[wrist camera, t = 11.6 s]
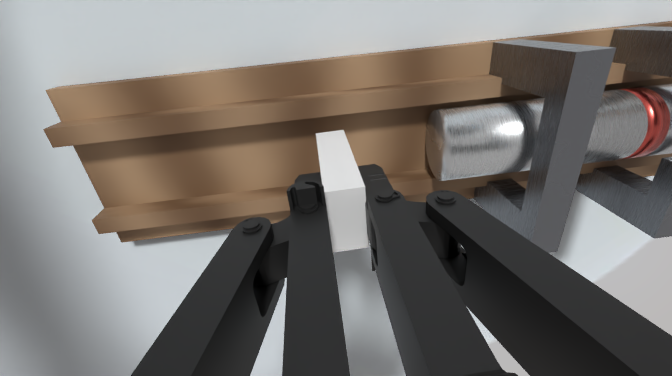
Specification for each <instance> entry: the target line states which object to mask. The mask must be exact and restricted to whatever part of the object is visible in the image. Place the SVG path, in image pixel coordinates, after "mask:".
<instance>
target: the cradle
mask: <svg viewBox="0 0 672 376" xmlns="http://www.w3.org/2000/svg"><path fill="white" fill-rule="evenodd" d="M640 26H652V27H672V21H668V22H658V23H649V24H640V25H630V26H621V27H612V28H602V29H593V30H584V31H574V32H565V33H556V34H546V35H537V36H528V37H518V38H509V39H500V40H490V41H481V42H472V43H462V44H453V45H444V46H434V47H425V48H416V49H406V50H397V51H388V52H379V53H369V54H360V55H351V56H341V57H332V58H323V59H313V60H304V61H295V62H285V63H276V64H267V65H257V66H248V67H239V68H229V69H220V70H211V71H201V72H192V73H183V74H173V75H164V76H155V77H145V78H136V79H127V80H117V81H108V82H99V83H89V84H80V85H71V86H61V87H56V88H52V89H48V90H46V92H47V94H48V96H49V98H50V100H51V102H52V104H53V106H54V108H55V110H56V112H57V114H58V116H59V118H60V120H61V122H60V123H57V124H55V125H52V126H50V127H48V128H45V129H43V130H44V132H45V133H46V135H47V137H48V139H49V141H50V143H51V145H52V147H53V148H54V147H63V146H72V145H73V146H74V148H75V150H76V152H77V154H78V156H79V158H80V160H81V162H82V164H83V166H84V168H85V170H86V172H87V174H88V176H89V178H90V180H91V182H92V184H93V186H94V188H95V190H96V192H97V194H98V196H99V198H100V200H101V202H102V204H103V206H104V209H103V210H102V211H101V212H100V213H99V214H98V215H97V216H96V217H95V218H94V219H93V220H92V222H93V224H94V226H95V228H96V229H97V231H98V233H99V234H103V233H111V232H117V234H118V236H119V238H120V240H121V242H129V241H137V240H145V239H153V238H161V237H169V236H177V235H185V234H193V233H201V232H208V231H216V230H224V229H232V228H234V227H235V226H236V225H237V224H238V223H240V222H242V221H244V220H245V219H249V218H252V217H264V218H267V219H269V220H270V222H271V224H272V223H277V222H279V221H282V220H284V219H286V218H287V217H288V216H290V207H289V202H288V197H287V192H286V191H287V189H288V187H290V186H291V185H292V184H294V183H295V179H296V178H297V177H298V176H299V175H302V174H309V173H316V172H321V171H320V163H319V155H318V148H317V140H316V133H323V132H330V131H338V130H344V132H345V135H346V137H347V140H348V143H349V145H350V148H351V151H352V153H353V156H354V159H355V161H356V164H357V166H362V165H370V164H376V165H378V166H380V167H381V168H382V169H383V171H384V173H385V175H386V176H387V178H388V180H389V182H390V184H391V186H392V188H393V190H396V191H399V192H400V193H401V194H402V195H403V196H404V198H405V200H407V201H413V202H426V197H427V195H428V194H429V193H432V192H434V191H440V190H449V191H453V192H456V193H458V194H461V195H462V196H464V197H465V198H467V199H471V198H474V190H475V187H481V186H487V182H488V181H496V180H504V179H513V180H514V181H516V182H517V183H518V184H520V185H521V186H522V187H524V188H525V189H526V186H527V181H528V177H529V172H530V170H528V171H519V172H511V173H503V174H495V175H486V176H478V177H470V178H461V179H453V180H445V181H439V180H438V179H436V178H435V176H434V175H433V173H432V171H431V169H430V166H429V162H428V158H427V153H426V141H425V137H426V126H427V121H428V118H429V116H430V114H431V112H432V111H434V110H439V109H448V108H457V107H465V106H474V105H483V104H492V103H501V102H510V101H519V100H528V99H537V98H544V97H541V96H538V95H535V94H532V93H528V92H525V91H522V90H519V89H516V88H513V87H510V86H507V85H504V84H501V83H502V78H500V77H497V76H493V75H490V74H489V71H490V63H491V55H492V47H493V42H500V41H509V40H518V39H524V40H535V41H547V42H558V43H569V44H580V45H592V46H603V47H609V46H610V42H611V39H612V35H613V31H614V29H621V28H630V27H640ZM625 66H626V64H621V63H614V62H612V64H611V68H610V71H609V75H608V78H607V82H606V85H605V89H604V91H609V90H618V89H627V88H636V87H645V86H654V85H663V84H672V77H666V76H660V75H654V74H647V73H641V72H634V71H628V70H625ZM665 157H672V153H669V154H661V155H652V156H644V157H636V158H627V159H619V160H611V161H603V162H594V163H586V164H582V168H581V171H580V174H586V173H593V169H594V168H601V167H609V166H617V165H618V166H620V167H622V168H624V169H627V170H629V171H631V172H633V173H635V174H637V175H640V176H642V177H646V176H654V175H655V174H656V171H657V169H658V167H659V164H660V162H661V159H662V158H665Z"/></svg>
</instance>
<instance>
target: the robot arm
mask: <svg viewBox="0 0 672 376" xmlns="http://www.w3.org/2000/svg"><path fill="white" fill-rule="evenodd" d="M316 140H317V148H318V155H319V163H320V171H321V172H316V173H309V174H302V175H299V176H298V177H297V178H296V179H295V183H294V184H292V185H291V186H290V187H288V189H287V191H286V192H287V197H288V202H289V207H290V216H288V217H287V218H286V219H284V220H282V221H279V222H277V223H274V224H271V222H270V220H269V219H267V218H264V217H252V218H249V219H245V220H244V221H242V222H240V223H238V224H237V225H236V226H235V227H234V229H233V230H232V231H231V233H230V234H229V236H228V237H227V239H226V240H225V241H224V243H223V244H222V246H221V247H220V249H219V250H218V251H217V253H216V254H215V256H214V257H213V259H212V260H211V261H210V263H209V264H208V266H207V267H206V269H205V270H204V272H203V273H202V274H201V276H200V277H199V279H198V280H197V282H196V283H195V284H194V286H193V287H192V289H191V290H190V292H189V293H188V294H187V296H186V297H185V299H184V300H183V302H182V303H181V304H180V306H179V307H178V309H177V310H176V312H175V313H174V314H173V316H172V317H171V319H170V320H169V322H168V323H167V325H166V326H165V327H164V329H163V330H162V332H161V333H160V335H159V336H158V337H157V339H156V340H155V342H154V343H153V345H152V346H151V347H150V349H149V350H148V352H147V353H146V355H145V356H144V357H143V359H142V360H141V362H140V363H139V365H138V366H137V367H136V369H135V370H134V372H133V373H132V375H131V376H250V374H251V371H252V369H253V366H254V363H255V361H256V358H257V355H258V353H259V350H260V347H261V345H262V342H263V339H264V337H265V334H266V331H267V329H268V326H269V323H270V321H271V318H272V315H273V313H274V310H275V307H276V305H277V302H278V299H279V297H280V294H281V291H282V289H283V286H284V281H285V279H284V278H286V277H287V290H286V311H285V331H284V351H283V372H282V376H350V372H349V365H348V358H347V351H346V344H345V336H344V329H343V322H342V315H341V308H340V301H339V293H338V286H337V279H336V272H335V265H334V258H333V253H334V252H341V251H348V250H355V249H362V248H368V247H369V241H370V244H371V258H372V271H375V270H376V273H377V277H378V280H379V284H380V287H381V291H382V294H383V298H384V301H385V304H386V308H387V311H388V315H389V318H390V322H391V325H392V328H393V332H394V335H395V339H396V342H397V346H398V349H399V353H400V356H401V359H402V363H403V366H404V370H405V373H406V376H518V375H517V374H515V373H507V372H505V371H504V370H503V369H502V368H501V367H500V365H499V363H498V362H497V360H496V359H495V356H494V355H493V353H492V351H491V349H490V348H489V346H488V344H487V342H486V341H485V339H484V337H483V335H482V334H481V332H480V330H479V328H478V326H477V325H476V323H475V321H474V319H473V318H472V316H471V314H470V312H469V311H468V309H467V307H468V308H469V310H470V311H471V312H472V313H473V314H474V315H475V316H476V317H477V318H478V319H479V320H480V322H481V323H482V324H483V325H484V326H485V327H486V328H487V329H488V330H489V331H490V333H491V334H492V335H493V336H494V337H495V338H496V339H497V340H498V341H499V342H500V343H501V345H502V346H503V347H504V348H505V349H506V350H507V351H508V352H509V353H510V354H511V355H512V356H513V358H514V359H515V360H516V361H517V362H518V363H519V364H520V365H521V366H522V368H523V369H525V371H526V372H527V373H528V374H529V375H530V376H672V336H671V335H670V334H668V333H667V332H665V331H663V330H662V329H661V328H659V327H658V326H656V325H655V324H653V323H652V322H650V321H649V320H647V319H646V318H644V317H643V316H641V315H640V314H638V313H637V312H635V311H634V310H632V309H631V308H629V307H628V306H626V305H625V304H623V303H622V302H620V301H619V300H617V299H616V298H614V297H613V296H611V295H610V294H608V293H607V292H605V291H604V290H602V289H601V288H599V287H598V286H597V285H595V284H594V283H592V282H591V281H589V280H588V279H586V278H585V277H583V276H582V275H580V274H579V273H577V272H576V271H574V270H573V269H571V268H570V267H568V266H567V265H565V264H564V263H562V262H561V261H559V260H558V259H556V258H555V257H553V256H552V255H550V254H549V253H547V252H546V251H544V250H543V249H541V248H540V247H538V246H537V245H535V244H534V243H532V242H531V241H529V240H528V239H526V238H525V237H523V236H522V235H520V234H519V233H517V232H516V231H514V230H513V229H511V228H510V227H509V226H507V225H506V224H504V223H503V222H501V221H500V220H498V219H497V218H495V217H494V216H492V215H491V214H489V213H488V212H486V211H485V210H483V209H482V208H480V207H479V206H477V205H476V204H474V203H473V202H471V201H470V200H468V199H467V198H465V197H464V196H462V195H461V194H458V193H456V192H453V191H449V190H440V191H434V192H432V193H429V194H428V195H427V197H426V202H413V201H407V200H405V198H404V196H403V195H402V194H401V193H400V192H399V191H396V190H393V188H392V186H391V184H390V182H389V180H388V178H387V176H386V175H385V173H384V171H383V169H382V168H381V167H380V166H378V165H376V164H370V165H362V166H357V164H356V161H355V159H354V156H353V153H352V151H351V148H350V145H349V143H348V140H347V137H346V135H345V132H344V130H338V131H330V132H323V133H316ZM461 245H462V246H463V248H464V249H465V250H464V249H463V248H462V247H461ZM466 306H467V307H466Z"/></svg>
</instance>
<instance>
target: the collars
mask: <svg viewBox="0 0 672 376" xmlns="http://www.w3.org/2000/svg"><path fill="white" fill-rule="evenodd" d="M612 62H614V63H621V64H626V66H625V70H628V71H634V72H641V73H647V74H654V75H660V76H666V77H672V27H652V26H640V27H630V28H621V29H614V31H613V35H612V39H611V42H610V46H609V47H603V46H592V45H580V44H569V43H558V42H547V41H535V40H524V39H518V40H509V41H500V42H493V47H492V55H491V63H490V71H489V74H490V75H493V76H497V77H500V78H502V83H501V84H504V85H507V86H510V87H513V88H516V89H519V90H522V91H525V92H528V93H532V94H535V95H538V96H541V97H544V98H545V100H544V105H543V110H542V114H541V119H540V124H539V129H538V134H537V138H536V143H535V148H534V153H533V157H532V162H531V167H530V172H529V177H528V181H527V186H526V189H525V188H524V187H522V186H521V185H520V184H518V183H517V182H516V181H514V180H513V179H504V180H496V181H488V182H487V186H481V187H475V190H474V199H475V200H476V201H477V202H478V203H479V204H480V205H481V207H482V208H483V209H484V210H485V211H486V212H488V213H489V214H491V215H492V216H494V217H495V218H497V219H498V220H500V221H501V222H503V223H504V224H506V225H507V226H509V227H510V228H511V229H513V230H514V231H516V232H517V233H519V234H520V235H522V236H523V237H525V238H526V239H528V240H529V241H531V242H532V243H534V244H535V245H537V246H538V247H540V248H541V249H543V250H544V251H546V252H547V253H549V252H556V251H557V250H558V247H559V243H560V240H561V237H562V233H563V230H564V226H565V223H566V219H567V216H568V212H569V209H570V206H571V202H572V199H573V195H574V192H575V189H576V190H577V191H579V192H580V193H582V194H584V195H585V196H587V197H589V198H590V199H592V200H593V201H595V202H597V203H598V204H600V205H601V206H603V207H605V208H606V209H608V210H609V211H611V212H613V213H614V214H616V215H617V216H619V217H621V218H622V219H624V220H625V221H627V222H629V223H630V224H632V225H634V226H635V227H637V228H638V229H640V230H642V231H643V232H645V233H646V234H648V235H650V236H651V237H653V238H661V237H669V236H672V157H665V158H662V159H661V162H660V164H659V167H658V169H657V171H656V174H655V176H654V179H653V181H650V180H648V179H646V178H644V177H642V176H640V175H637V174H635V173H633V172H631V171H629V170H627V169H624V168H622V167H620V166H618V165H617V166H609V167H601V168H594V169H593V173H586V174H580V171H581V168H582V164H583V161H584V157H585V154H586V150H587V147H588V144H589V140H590V137H591V133H592V130H593V126H594V123H595V119H596V116H597V113H598V109H599V106H600V102H601V99H602V95H603V92H604V89H605V85H606V82H607V78H608V75H609V71H610V68H611V64H612Z"/></svg>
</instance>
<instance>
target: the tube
mask: <svg viewBox="0 0 672 376" xmlns="http://www.w3.org/2000/svg"><path fill="white" fill-rule="evenodd" d="M544 100H545V98H537V99H528V100H519V101H510V102H501V103H492V104H483V105H474V106H465V107H457V108H448V109H439V110H434V111H432V112H431V114H430V116H429V118H428V121H427V126H426V137H425V141H426V153H427V158H428V162H429V166H430V169H431V171H432V173H433V175H434V176H435V178H436V179H438V180H439V181H445V180H453V179H461V178H470V177H478V176H486V175H495V174H503V173H511V172H519V171H528V170H530V167H531V162H532V157H533V153H534V148H535V143H536V138H537V134H538V129H539V124H540V119H541V114H542V110H543V105H544ZM669 153H672V84H663V85H654V86H645V87H636V88H627V89H618V90H609V91H604V92H603V95H602V99H601V102H600V106H599V109H598V113H597V116H596V119H595V123H594V126H593V130H592V133H591V137H590V140H589V144H588V147H587V150H586V154H585V157H584V161H583V164H586V163H594V162H603V161H611V160H619V159H627V158H636V157H644V156H652V155H661V154H669Z"/></svg>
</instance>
